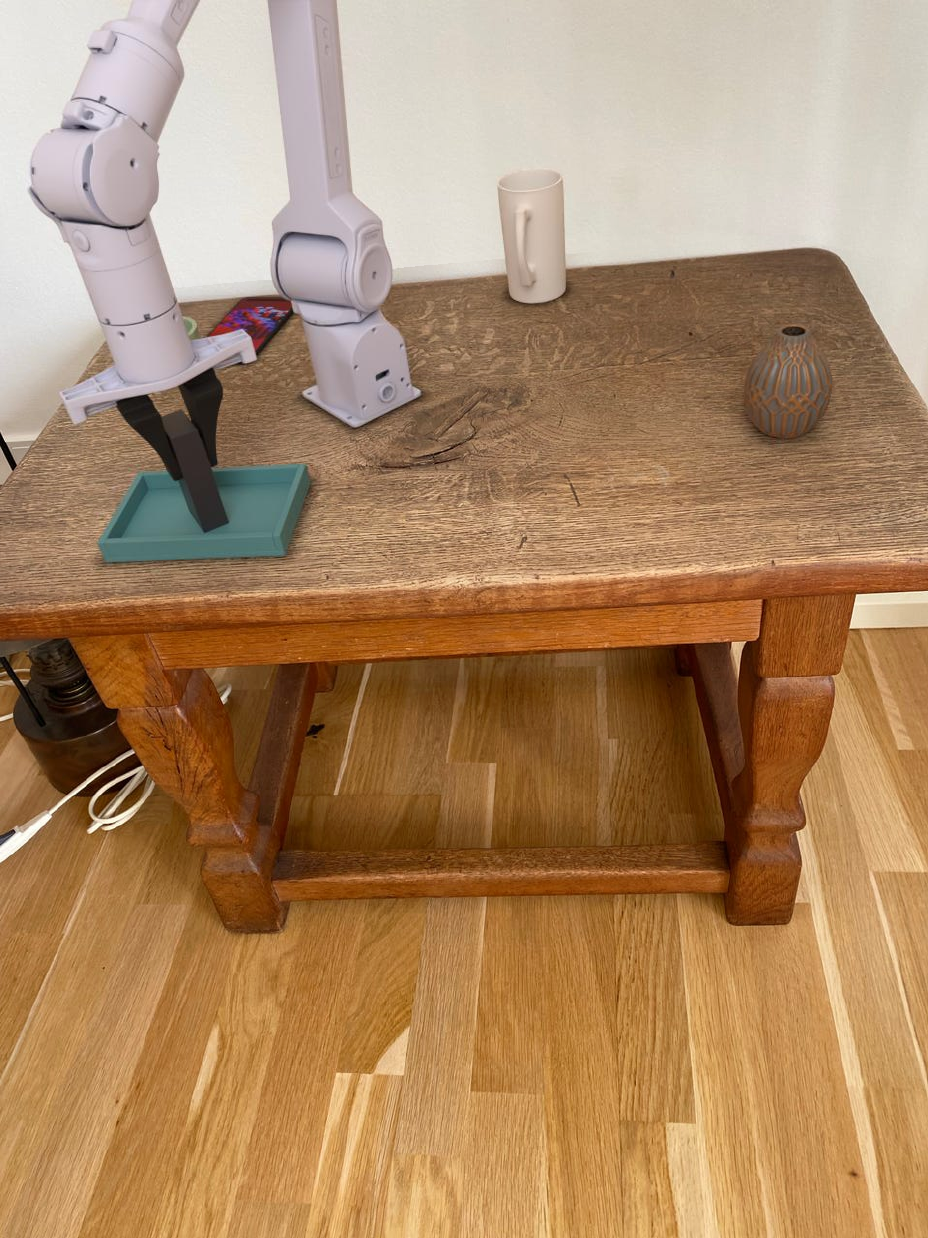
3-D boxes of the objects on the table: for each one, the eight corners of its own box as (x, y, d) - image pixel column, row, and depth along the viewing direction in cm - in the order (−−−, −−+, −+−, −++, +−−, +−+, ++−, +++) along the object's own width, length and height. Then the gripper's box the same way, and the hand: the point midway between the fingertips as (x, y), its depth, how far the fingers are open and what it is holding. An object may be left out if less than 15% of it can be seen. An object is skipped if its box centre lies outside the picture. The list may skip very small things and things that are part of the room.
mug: (514, 278, 114) (505, 168, 106) (573, 278, 112) (568, 166, 104) (493, 318, 107) (481, 204, 99) (556, 319, 105) (549, 202, 97)
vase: (735, 408, 88) (741, 314, 83) (816, 401, 88) (828, 306, 82) (749, 451, 83) (757, 354, 77) (835, 444, 83) (849, 346, 77)
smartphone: (184, 359, 108) (242, 296, 118) (186, 367, 108) (244, 303, 119) (249, 361, 106) (302, 296, 116) (251, 368, 106) (304, 304, 117)
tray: (311, 482, 87) (306, 462, 86) (285, 555, 80) (279, 535, 79) (145, 490, 90) (138, 471, 88) (105, 562, 82) (96, 543, 81)
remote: (215, 500, 86) (184, 407, 80) (231, 522, 83) (200, 428, 77) (189, 511, 85) (155, 418, 79) (204, 533, 83) (170, 439, 77)
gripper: (213, 261, 77) (257, 416, 86) (25, 321, 73) (93, 478, 82) (246, 289, 72) (289, 451, 81) (46, 356, 68) (116, 519, 77)
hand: (192, 467), depth 81 cm, fingers closed on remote, 2 cm apart
